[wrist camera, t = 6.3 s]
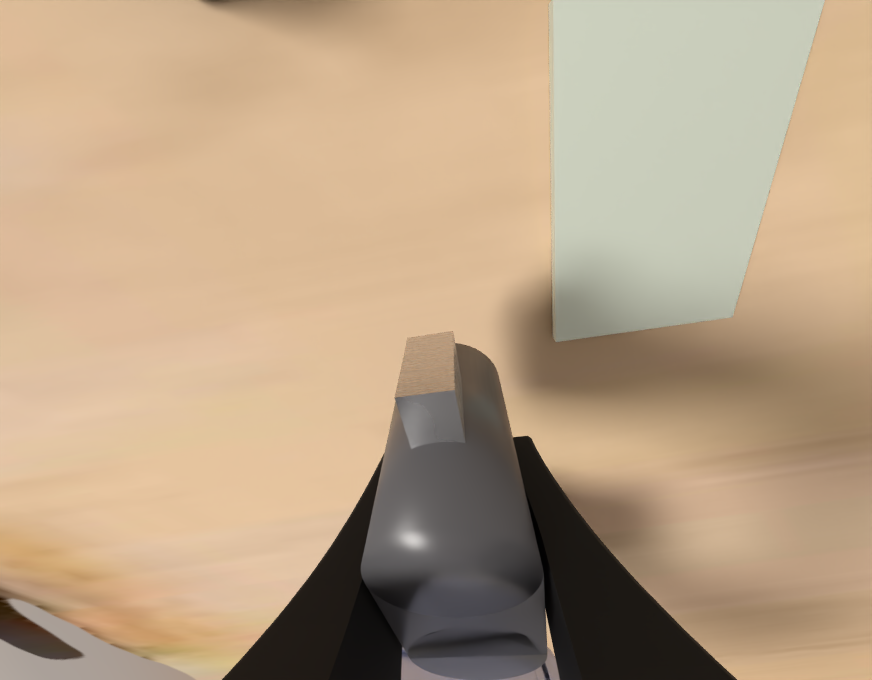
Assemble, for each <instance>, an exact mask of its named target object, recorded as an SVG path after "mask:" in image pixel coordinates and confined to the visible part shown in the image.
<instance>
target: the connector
mask: <svg viewBox="0 0 872 680" xmlns="http://www.w3.org/2000/svg"><path fill="white" fill-rule="evenodd" d="M395 400H396V402H395V406H394V411H393V416H392V421H391V425H390V430H389V435H388V440H387V444H386V449H385V454H384V458H383V463H382V468H381V473H380V477H379V482H378V487H377V492H376V496H375V501H374V506H373V510H372V515H371V520H370V525H369V529H368V534H367V539H366V544H365V548H364V553H363V558H362V563H361V575H362V578H363V581H364V583H365V584H366V586H367V588H368V589H369V591H370V593H371V595H372V596H373V598H374V600H375V601H376V603H377V605H378V606H379V608H380V610H381V611H382V613H383V615H384V616H385V618H386V620H387V621H388V623H389V625H390V626H391V628H392V630H393V631H394V633H395V635H396V636H397V638H398V640H399V642H400V643H401V645H402V647H403V648H404V650H405V652H406V653H407V655H408V657H409V658H410V660H411V661H412V662H413V663H414V664H415V665H417V666H418V667H420V668H421V669H423V670H425V671H428V672H430V673H433V674H436V675H440V676H444V677H449V678H455V679H463V680H499V679H507V678H512V677H517V676H521V675H524V674H527V673H530V672H532V671H534V670H536V669H537V668H539V667H540V666H542V665H543V664H544V662H545V661H546V659H547V635H546V614H545V593H544V573H543V567H542V562H541V558H540V554H539V549H538V545H537V541H536V536H535V532H534V528H533V523H532V519H531V515H530V510H529V506H528V502H527V497H526V493H525V489H524V484H523V480H522V476H521V471H520V467H519V463H518V458H517V454H516V450H515V445H514V441H513V436H512V432H511V428H510V423H509V419H508V415H507V410H506V406H505V402H504V397H503V393H502V389H501V384H500V380H499V376H498V372H497V370H496V368H495V366H494V364H493V363H492V362H491V360H490V359H489V358H488V357H487V356H486V355H484V354H483V353H482V352H480V351H479V350H477V349H475V348H472V347H470V346H467V345H463V344H457V343H455V340H454V334H453V331H451V332H444V333H438V334H431V335H424V336H418V337H411V338H408V339H407V343H406V348H405V353H404V357H403V362H402V366H401V371H400V375H399V380H398V385H397V389H396V394H395Z"/></svg>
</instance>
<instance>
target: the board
mask: <svg viewBox="0 0 872 680" xmlns="http://www.w3.org/2000/svg"><path fill="white" fill-rule="evenodd" d="M824 1H825V0H551V2H550V3H549V78H550V160H551V241H552V323H553V338H554V340H555V342H561V341H568V340H575V339H582V338H589V337H596V336H603V335H611V334H618V333H625V332H632V331H639V330H646V329H653V328H660V327H667V326H674V325H681V324H689V323H696V322H703V321H710V320H717V319H724V318H731V317H733V314H734V310H735V307H736V304H737V300H738V297H739V293H740V290H741V286H742V283H743V280H744V276H745V273H746V269H747V266H748V262H749V259H750V255H751V252H752V249H753V245H754V242H755V238H756V235H757V231H758V228H759V225H760V221H761V218H762V214H763V211H764V207H765V204H766V201H767V197H768V194H769V190H770V187H771V183H772V180H773V177H774V173H775V170H776V166H777V163H778V159H779V156H780V152H781V149H782V146H783V142H784V139H785V135H786V132H787V128H788V125H789V122H790V118H791V115H792V111H793V108H794V104H795V101H796V98H797V94H798V91H799V87H800V84H801V80H802V77H803V73H804V70H805V67H806V63H807V60H808V56H809V53H810V49H811V46H812V43H813V39H814V36H815V32H816V29H817V25H818V22H819V19H820V15H821V12H822V8H823V5H824Z"/></svg>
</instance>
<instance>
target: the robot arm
mask: <svg viewBox="0 0 872 680" xmlns="http://www.w3.org/2000/svg"><path fill="white" fill-rule="evenodd" d="M513 441H514V445H515V450H516V454H517V458H518V463H519V467H520V471H521V476H522V480H523V484H524V489H525V493H526V497H527V502H528V506H529V510H530V515H531V519H532V523H533V528H534V532H535V536H536V541H537V545H538V549H539V554H540V558H541V562H542V567H543V573H544V593H545V609H546V614H547V618H548V623H549V628H550V633H551V638H552V643H553V648H554V653H555V656H554V654H553V653H552V651H551V650H550V649H549V648H548V647H547V659H546V661H545V662H544V664H543V665H542V666H540V667H539V668H537V669H536V670H534V671H532V672H530V673H527V674H524V675H521V676H517V677H512V678H507V679H499V680H737V679H736V678H735V677H734V676H733V675H731V674H730V673H729V672H728V671H727V670H726V669H725V668H724V667H723V666H722V665H721V664H720V663H718V662H717V661H716V660H715V659H714V658H713V657H712V656H711V655H710V654H709V653H708V652H707V651H706V650H705V649H704V648H703V647H702V646H701V645H700V644H699V643H698V642H696V641H695V640H694V639H693V638H692V637H691V636H690V635H689V634H688V633H687V632H686V631H685V630H684V629H683V628H682V627H681V626H680V625H679V624H678V623H677V622H676V621H675V620H674V619H673V618H672V617H671V616H670V615H669V614H668V613H667V612H666V611H665V610H664V609H663V608H662V607H661V606H660V605H659V604H658V603H657V601H656V600H655V599H654V598H653V597H652V596H651V595H650V594H649V593H648V592H647V591H646V590H645V589H644V588H643V587H642V586H641V585H640V584H639V583H638V582H637V581H636V580H635V579H634V577H633V576H632V575H631V574H630V573H629V572H628V571H627V570H626V569H625V568H624V566H623V565H622V564H621V563H620V562H619V561H618V560H617V559H616V557H615V556H614V555H613V554H612V553H611V552H610V551H609V549H608V548H607V547H606V546H605V545H604V544H603V542H602V541H601V540H600V539H599V538H598V536H597V535H596V534H595V533H594V531H593V530H592V529H591V528H590V526H589V525H588V524H587V523H586V521H585V520H584V519H583V517H582V516H581V515H580V514H579V512H578V511H577V510H576V508H575V507H574V506H573V504H572V503H571V502H570V500H569V499H568V497H567V496H566V495H565V493H564V492H563V490H562V489H561V487H560V486H559V485H558V483H557V482H556V480H555V479H554V477H553V476H552V474H551V473H550V471H549V469H548V468H547V466H546V465H545V463H544V461H543V460H542V458H541V456H540V455H539V453H538V451H537V449H536V447H535V445H534V443H533V441H532V439H531V438H530V437H529V436H522V437H513ZM384 454H385V453H384ZM383 458H384V455H383V457H382V459H381V461H380V463H379V465H378V466H377V468H376V470H375V472H374V474H373V476H372V478H371V480H370V482H369V484H368V485H367V487H366V489H365V491H364V493H363V494H362V496H361V498H360V500H359V501H358V503H357V505H356V507H355V508H354V510H353V512H352V514H351V515H350V517H349V519H348V520H347V522H346V523H345V525H344V526H343V528H342V530H341V531H340V533H339V534H338V536H337V537H336V539H335V541H334V542H333V544H332V545H331V547H330V548H329V550H328V551H327V553H326V554H325V556H324V557H323V558H322V560H321V561H320V563H319V564H318V565H317V567H316V568H315V570H314V571H313V572H312V574H311V575H310V576H309V578H308V579H307V580H306V582H305V583H304V584H303V586H302V587H301V588H300V589H299V591H298V592H297V593H296V595H295V596H294V597H293V598H292V600H291V601H290V602H289V604H288V605H287V606H286V607H285V609H284V610H283V611H282V612H281V614H280V615H279V616H278V617H277V618H276V620H275V621H274V622H273V623H272V624H271V625H270V627H269V628H268V629H267V630H266V631H265V632H264V633H263V635H262V636H261V637H260V638H259V639H258V640H257V641H256V643H255V644H254V645H253V646H252V647H251V648H250V649H249V651H248V652H247V653H246V654H245V655H244V656H243V657H242V659H241V660H240V661H239V662H238V663H237V664H236V665H235V666H234V667H233V668H232V669H231V671H230V672H229V673H228V674H227V675H226V676H225V677H224V678H223V679H222V680H463V679H455V678H449V677H444V676H440V675H436V674H433V673H430V672H428V671H425V670H423V669H421V668H420V667H418V666H417V665H415V664H414V663H413V662H412V661H411V660H410V658H409V657H408V655H407V653H406V652H405V650H404V648H403V647H402V645H401V643H400V642H399V640H398V638H397V636H396V635H395V633H394V631H393V630H392V628H391V626H390V625H389V623H388V621H387V620H386V618H385V616H384V615H383V613H382V611H381V610H380V608H379V606H378V605H377V603H376V601H375V600H374V598H373V596H372V595H371V593H370V591H369V589H368V588H367V586H366V584H365V583H364V581H363V578H362V575H361V563H362V558H363V553H364V548H365V544H366V539H367V534H368V529H369V525H370V520H371V515H372V510H373V506H374V501H375V496H376V492H377V487H378V482H379V477H380V473H381V468H382V463H383Z"/></svg>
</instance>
